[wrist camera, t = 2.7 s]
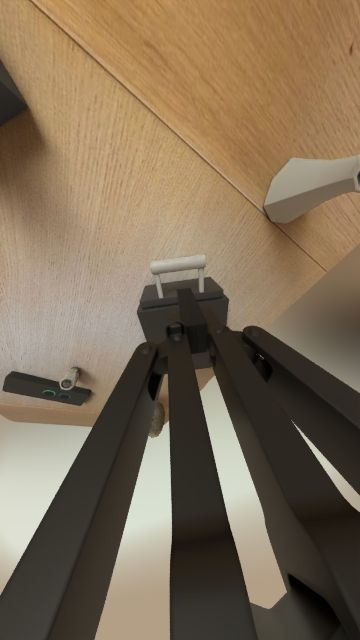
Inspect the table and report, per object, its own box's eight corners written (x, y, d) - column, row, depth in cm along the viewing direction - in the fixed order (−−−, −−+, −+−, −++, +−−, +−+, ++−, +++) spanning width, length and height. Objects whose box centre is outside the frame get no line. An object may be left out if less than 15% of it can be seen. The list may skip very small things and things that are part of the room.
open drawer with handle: (137, 256, 22) (127, 265, 16) (210, 246, 22) (228, 252, 16) (160, 341, 33) (159, 366, 27) (208, 334, 33) (218, 357, 27)
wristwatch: (83, 366, 36) (72, 383, 32) (82, 379, 39) (72, 396, 35) (68, 363, 35) (55, 381, 31) (68, 377, 38) (57, 394, 34)
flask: (253, 210, 21) (314, 195, 12) (290, 144, 17) (409, 62, 9) (285, 232, 23) (354, 232, 14) (323, 178, 19) (443, 137, 11)
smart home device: (80, 406, 44) (1, 391, 36) (83, 401, 46) (7, 385, 37) (89, 395, 41) (5, 376, 33) (91, 390, 43) (11, 370, 34)
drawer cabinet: (144, 290, 26) (136, 312, 19) (211, 281, 26) (229, 299, 19) (159, 346, 35) (158, 375, 28) (210, 338, 35) (221, 365, 28)
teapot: (133, 412, 54) (123, 466, 41) (108, 403, 48) (89, 463, 36) (173, 391, 48) (176, 447, 36) (150, 378, 42) (144, 439, 30)
